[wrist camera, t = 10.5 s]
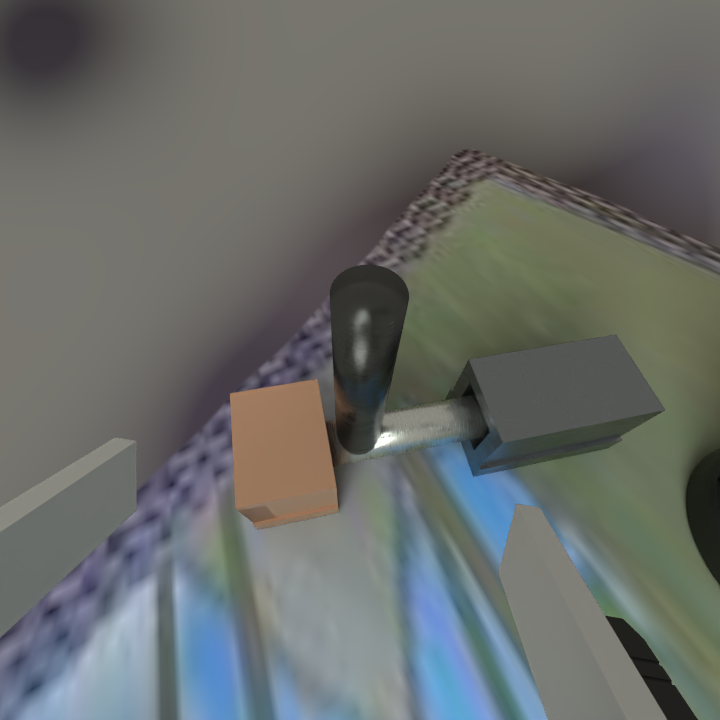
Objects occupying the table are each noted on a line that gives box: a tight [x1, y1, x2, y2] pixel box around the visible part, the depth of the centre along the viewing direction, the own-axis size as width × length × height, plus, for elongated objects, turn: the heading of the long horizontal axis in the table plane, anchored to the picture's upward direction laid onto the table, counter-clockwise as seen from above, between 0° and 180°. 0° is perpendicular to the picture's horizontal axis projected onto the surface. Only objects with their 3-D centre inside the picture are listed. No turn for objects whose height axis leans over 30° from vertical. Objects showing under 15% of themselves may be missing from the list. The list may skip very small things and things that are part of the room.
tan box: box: [230, 379, 339, 530], centre depth 28 cm, size 6×8×7 cm
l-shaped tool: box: [325, 265, 490, 467], centre depth 23 cm, size 20×4×18 cm, turn 102°
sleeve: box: [446, 335, 665, 477], centre depth 31 cm, size 12×7×7 cm, turn 102°
